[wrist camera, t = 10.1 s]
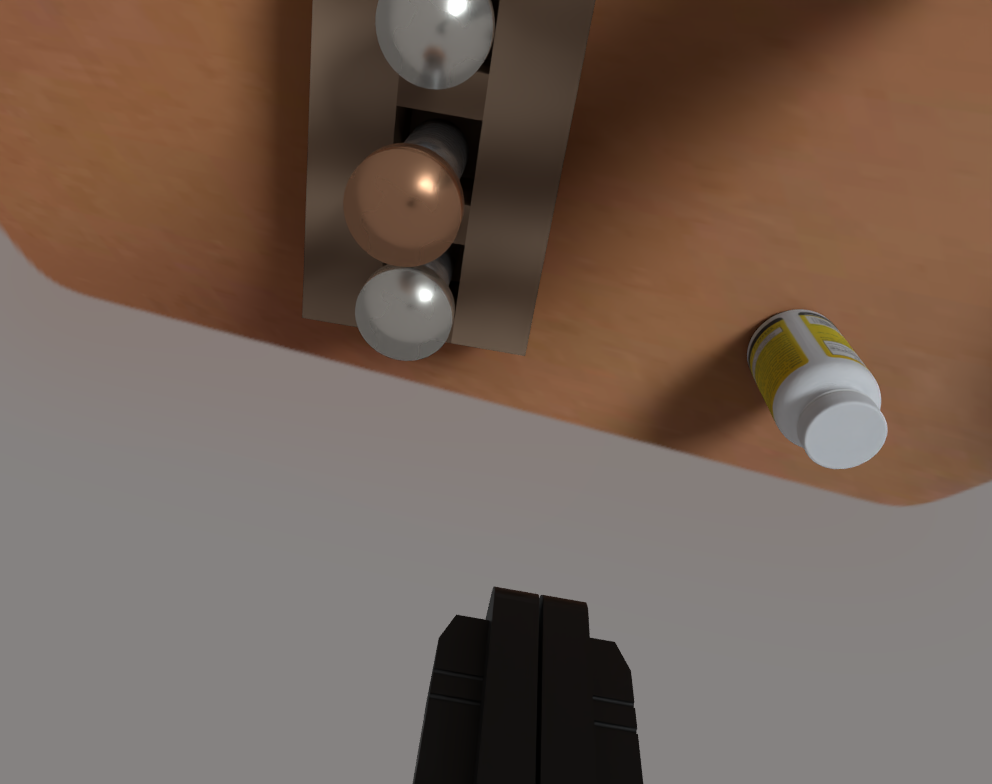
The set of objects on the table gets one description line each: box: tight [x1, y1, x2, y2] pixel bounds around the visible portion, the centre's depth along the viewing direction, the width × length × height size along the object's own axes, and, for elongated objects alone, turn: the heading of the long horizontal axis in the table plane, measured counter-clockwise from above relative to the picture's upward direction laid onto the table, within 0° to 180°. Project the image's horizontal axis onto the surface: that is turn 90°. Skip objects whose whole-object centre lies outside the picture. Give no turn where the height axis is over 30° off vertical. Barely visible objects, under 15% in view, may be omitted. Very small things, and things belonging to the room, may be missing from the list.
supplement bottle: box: [747, 309, 887, 469], centre depth 42 cm, size 5×5×10 cm
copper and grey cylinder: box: [343, 118, 469, 267], centre depth 33 cm, size 4×4×10 cm
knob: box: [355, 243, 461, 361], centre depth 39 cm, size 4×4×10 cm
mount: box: [302, 0, 595, 356], centre depth 39 cm, size 19×12×6 cm, turn 171°
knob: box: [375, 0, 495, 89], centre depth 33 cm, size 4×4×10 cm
